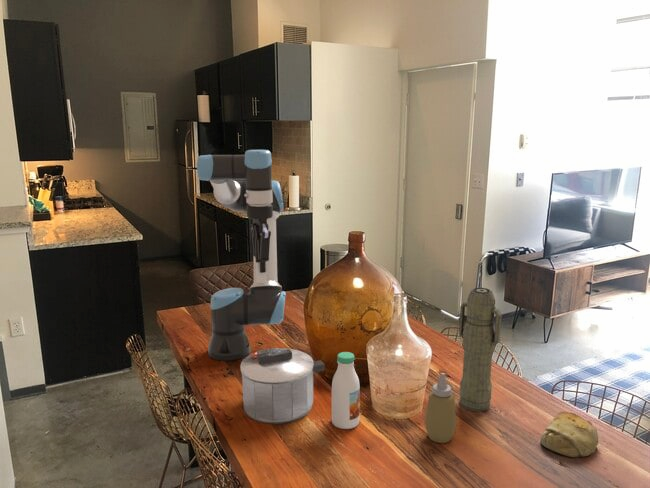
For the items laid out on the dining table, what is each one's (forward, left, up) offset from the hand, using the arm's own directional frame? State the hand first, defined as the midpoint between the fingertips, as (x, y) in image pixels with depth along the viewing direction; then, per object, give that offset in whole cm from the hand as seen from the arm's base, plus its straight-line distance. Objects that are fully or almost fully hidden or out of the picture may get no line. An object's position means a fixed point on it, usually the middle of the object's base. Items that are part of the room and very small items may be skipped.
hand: (261, 281), depth 155 cm
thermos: (-39, +50, -35) cm, 73 cm away
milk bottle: (-4, +31, -35) cm, 47 cm away
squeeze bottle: (-17, +53, -35) cm, 66 cm away
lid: (+3, +11, -23) cm, 25 cm away
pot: (+2, +11, -35) cm, 36 cm away
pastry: (-39, +78, -35) cm, 94 cm away
